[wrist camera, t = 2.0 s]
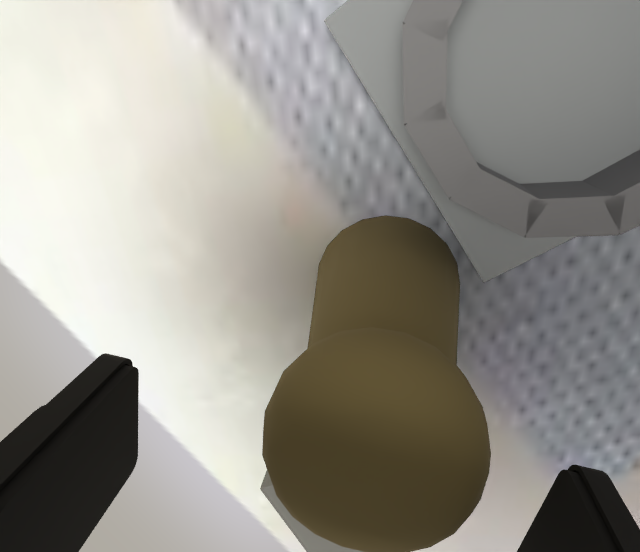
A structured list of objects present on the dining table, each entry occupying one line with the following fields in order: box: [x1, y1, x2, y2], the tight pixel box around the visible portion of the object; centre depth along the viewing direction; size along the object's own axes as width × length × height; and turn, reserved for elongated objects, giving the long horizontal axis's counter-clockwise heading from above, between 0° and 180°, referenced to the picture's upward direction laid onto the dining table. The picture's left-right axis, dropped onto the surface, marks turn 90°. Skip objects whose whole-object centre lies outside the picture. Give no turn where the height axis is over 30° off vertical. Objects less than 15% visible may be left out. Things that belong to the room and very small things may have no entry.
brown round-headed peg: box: [262, 216, 491, 552], centre depth 14 cm, size 6×6×11 cm
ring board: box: [324, 0, 640, 283], centre depth 13 cm, size 11×11×4 cm
